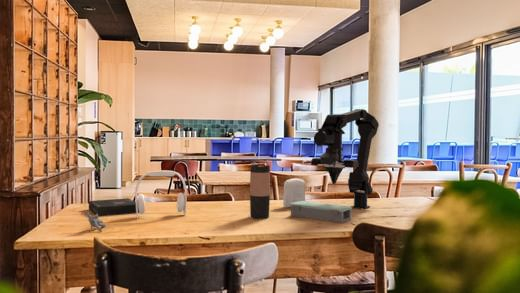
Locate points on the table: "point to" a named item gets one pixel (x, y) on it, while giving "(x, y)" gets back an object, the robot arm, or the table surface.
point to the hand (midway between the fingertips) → (333, 183)
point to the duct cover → (320, 206)
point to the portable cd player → (112, 207)
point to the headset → (181, 197)
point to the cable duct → (321, 214)
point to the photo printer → (293, 191)
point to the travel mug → (259, 191)
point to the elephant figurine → (95, 221)
